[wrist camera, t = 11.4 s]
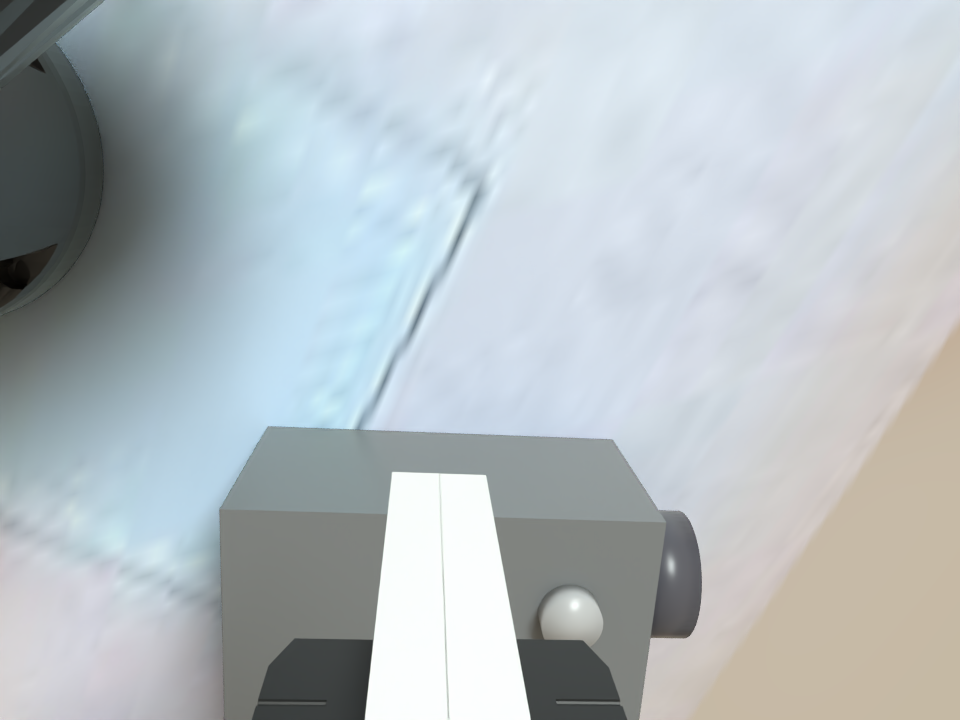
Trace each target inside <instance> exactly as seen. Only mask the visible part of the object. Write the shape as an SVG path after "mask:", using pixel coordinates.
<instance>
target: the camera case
mask: <svg viewBox="0 0 960 720" xmlns="http://www.w3.org/2000/svg"><path fill="white" fill-rule="evenodd" d="M392 472H411V473H440V474H469V475H486V478H487V483H488V489H489V494H490V500H491V505H492V511H493V516H494V522H495V527H496V533H497V538H498V543H499V549H500V554H501V560H502V565H503V571H504V576H505V582H506V587H507V593H508V598H509V604H510V609H511V614H512V620H513V625H514V631H515V636H516V639H540V640H583V641H584V642H585V643H586V644H587V645H588V646H589V647H590V648H591V649H592V650H593V651H594V652H595V653H596V654H597V656H598V657H599V658H600V659H601V660H602V661H603V662H604V663H605V664H606V665H607V666H608V667H609V669H610V672H611V675H612V678H613V681H614V683H615V686H616V689H617V692H618V695H619V697H620V705H621V706H623V709H624V712H625V714H626V717H627V720H639V716H640V709H641V702H642V695H643V688H644V680H645V673H646V666H647V659H648V652H649V645H650V638H687V637H688V636H690V635H691V633H692V632H693V630H694V628H695V626H696V623H697V620H698V616H699V611H700V604H701V593H702V574H701V562H700V554H699V549H698V544H697V540H696V536H695V533H694V530H693V527H692V525H691V523H690V521H689V519H688V518H687V517H686V515H685V514H684V513H682V512H680V511H665V510H658V509H657V507H656V506H655V504H654V502H653V501H652V499H651V498H650V496H649V495H648V493H647V492H646V490H645V489H644V487H643V486H642V484H641V482H640V481H639V479H638V478H637V476H636V475H635V473H634V472H633V470H632V469H631V467H630V466H629V464H628V462H627V461H626V459H625V458H624V456H623V455H622V453H621V452H620V450H619V449H618V447H617V446H616V444H615V442H614V441H613V440H610V439H584V438H557V437H531V436H505V435H479V434H453V433H427V432H401V431H375V430H349V429H322V428H296V427H270V426H268V427H267V429H266V431H265V432H264V434H263V436H262V438H261V439H260V441H259V443H258V444H257V446H256V448H255V450H254V451H253V453H252V455H251V456H250V458H249V460H248V461H247V463H246V465H245V467H244V468H243V470H242V472H241V473H240V475H239V477H238V479H237V480H236V482H235V484H234V485H233V487H232V489H231V490H230V492H229V494H228V496H227V497H226V499H225V501H224V502H223V504H222V506H221V507H220V552H221V596H222V639H223V682H224V720H252V717H253V714H254V710H255V707H256V706H257V705H258V698H259V694H260V691H261V688H262V685H263V681H264V678H265V675H266V672H267V669H268V666H269V665H270V664H271V663H272V661H273V660H274V659H275V658H276V657H277V656H278V655H279V654H280V653H281V652H282V651H283V650H284V649H285V648H286V647H287V646H288V645H289V644H290V643H291V642H292V641H293V639H294V638H301V639H362V640H374V632H375V623H376V614H377V605H378V596H379V587H380V578H381V569H382V560H383V551H384V542H385V533H386V524H387V515H388V506H389V497H390V487H391V478H392Z"/></svg>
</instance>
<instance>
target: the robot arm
mask: <svg viewBox="0 0 960 720" xmlns="http://www.w3.org/2000/svg"><path fill="white" fill-rule="evenodd" d="M103 1H105V0H0V315H2V314H5V313H8V312H10V311H13V310H15V309H18V308H20V307H22V306H24V305H26V304H28V303H29V302H31V301H33V300H35V299H36V298H38V297H39V296H41V295H42V294H44V293H45V292H46V291H48V290H49V289H50V288H51V287H52V286H54V285H55V284H56V283H57V282H58V281H59V280H60V279H61V278H62V277H63V276H64V275H65V274H66V273H67V272H68V270H69V269H70V268H71V267H72V266H73V264H74V263H75V261H76V260H77V259H78V257H79V256H80V254H81V252H82V251H83V249H84V247H85V245H86V243H87V241H88V239H89V237H90V235H91V233H92V230H93V227H94V225H95V222H96V218H97V215H98V211H99V207H100V202H101V196H102V188H103V156H102V147H101V141H100V135H99V131H98V126H97V122H96V119H95V116H94V113H93V109H92V107H91V104H90V101H89V99H88V96H87V94H86V92H85V90H84V88H83V86H82V83H81V81H80V79H79V78H78V76H77V74H76V72H75V70H74V69H73V67H72V65H71V64H70V62H69V61H68V59H67V58H66V56H65V55H64V53H63V52H62V51H61V49H60V48H59V47H58V45H57V44H56V43H55V42H57V41H58V40H59V39H60V38H61V37H62V36H64V35H65V34H66V33H67V32H68V31H69V30H71V29H72V28H73V27H74V26H75V25H76V24H78V23H79V22H80V21H81V20H82V19H84V18H85V17H86V16H87V15H88V14H89V13H91V12H92V11H93V10H94V9H95V8H96V7H98V6H99V5H100V4H101V3H102V2H103ZM252 720H627V717H626V714H625V712H624V709H623V706H621V705H620V697H619V695H618V692H617V689H616V686H615V683H614V681H613V678H612V675H611V672H610V669H609V667H608V666H607V665H606V664H605V663H604V662H603V661H602V660H601V659H600V658H599V657H598V656H597V654H596V653H595V652H594V651H593V650H592V649H591V648H590V647H589V646H588V645H587V644H586V643H585V642H584V641H583V640H540V639H516V636H515V631H514V625H513V620H512V614H511V609H510V604H509V598H508V593H507V587H506V582H505V576H504V571H503V565H502V560H501V554H500V549H499V543H498V538H497V533H496V527H495V522H494V516H493V511H492V505H491V500H490V494H489V489H488V483H487V478H486V475H469V474H440V473H411V472H392V478H391V487H390V497H389V506H388V515H387V524H386V533H385V542H384V551H383V560H382V569H381V578H380V587H379V596H378V605H377V614H376V623H375V632H374V640H362V639H301V638H294V639H293V641H292V642H291V643H290V644H289V645H288V646H287V647H286V648H285V649H284V650H283V651H282V652H281V653H280V654H279V655H278V656H277V657H276V658H275V659H274V660H273V661H272V663H271V664H270V665H269V666H268V669H267V672H266V675H265V678H264V681H263V685H262V688H261V691H260V694H259V698H258V705H257V706H256V707H255V710H254V714H253V717H252Z"/></svg>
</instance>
